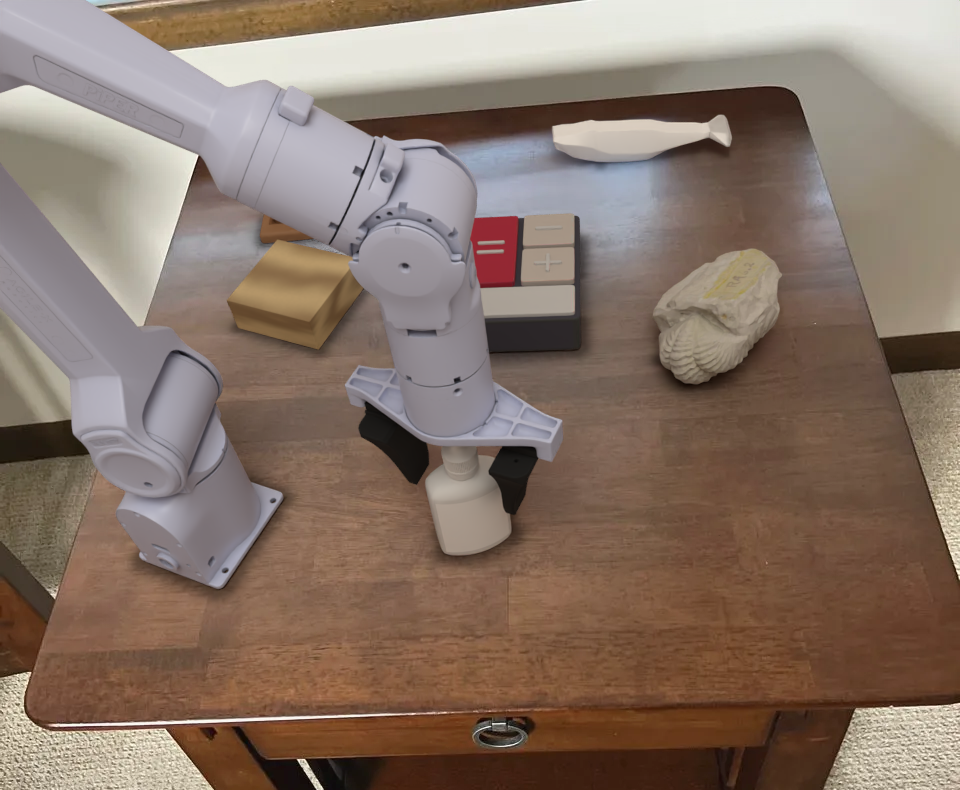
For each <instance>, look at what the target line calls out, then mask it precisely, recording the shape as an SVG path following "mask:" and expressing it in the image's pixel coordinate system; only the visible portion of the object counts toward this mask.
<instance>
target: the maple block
mask: <svg viewBox="0 0 960 790" xmlns="http://www.w3.org/2000/svg"><path fill="white" fill-rule="evenodd" d="M349 261H353V259H352V257H350V256H348V255H346V254H343V253H342V254H341V253H337V252H333V251H328V250H325V249H320V248H316V247H312V246H307V245H302V244H298V243H294V242H291V241H282V240H276V242H273V244H272V245H271V246H270V247H269V249H268V250H267V251H266V252H265V253H264V254H263V256H262V257H261V258H260V260H259V261H258V262H257V263H256V264H255V265H254V267H253V268H252V269H251V270H250V271H249V272H248V274H247V275H246V276H245V277H244V278H243V279H242V281H241V282H240V283H239V285H238V286H237V287H236V288H235V289H234V290H233V292H232V293H231V294H230V295H229V297H228V298H226V303H227V305H228V308H229V310H230V312H231V314H232V318H233V320H234V322H235V324H236V326H237V328H238V329H241V330H245V331H248V332H251V333H254V334H258V335H263V336H266V337H270V338H273V339H277V340H280V341H281V340H282V341H285V342H288V343H292V344H296V345H299V346H304V347H307V348H310V349H315V350H318V351H319V350H320V349H321V348H322V346H323V345H324V343H325V342H326V341H327V340H328V338H329V336H330V335H331V334H332V333H333V331H334V329H335V328H336V327H337V326H338V324H339V323H340V321H341V320H342V319H343V317H344V316H345V315H346V313H347V312H348V311H349V309H350V308H351V307H352V306H353V304H354V303H355V301H356V300H357V298H358V297H359V296H360V295H361V293H362V291H363V290H365V289H364V288H363V287H362V286H361V285H360V284H359V283H358V281H357V280H356V279H355V277H354V276H353V274H352V272H351V270H350V268H349V265H348V262H349Z"/></svg>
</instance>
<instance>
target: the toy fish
mask: <svg viewBox="0 0 960 790" xmlns="http://www.w3.org/2000/svg"><path fill="white" fill-rule="evenodd" d="M551 133H552V143H553V145H554V148H555V150H557V151H559V152H562V153H565V154H567V155H568V156H570V157H572V158H573V159H574V158H575V159H579V160H584V161H591V162H596V163H627V162H628V163H629V162H630V163H631V162H638V161H647V160H651V159H652V158H654V157H656V156H658V155H660V154H662V153H664V152H666V151H668V150H671V149H674V148H678V147H680V146H683V145H687V144H691V143H695V142H698V141H701V140H704V139H711V140H713V141H715V142H717V143H719V144H720V145H722V146H724V147H726V148H728V147H731V144H732V141H733V136H732V135H733V134H732V132H731V129H730V124H729V121H728V118H727V117H726V115H725V114H717V115H716V116H715V117H713V118H712V119H710V120H709V121H708V122H707V121H706V122H702V123H701V122H695V121H694V122H693V121H692V122H690V121H689V122H687V121H685V122H684V121H683V122H681V121H680V122H679V121H678V122H677V121H676V122H675V121H673V122H672V121H663V120H662V121H661V120H656V119H651V118H649V119H647V118H645V119H623V120H593V119H588V120H584V121H579V122H574V123H561V124H557V125H552V126H551Z"/></svg>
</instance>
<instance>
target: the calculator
mask: <svg viewBox="0 0 960 790" xmlns="http://www.w3.org/2000/svg"><path fill="white" fill-rule="evenodd" d="M470 240H471V242H472V246H473V253H474V260H475V266H476V271H477V278H478V281H479V284H480V289H481V297H482V305H483V312H484V320H485V327H486V335H487V342H488V350H489V353H495V352H496V353H497V352H499V353H500V352H531V351H533V352H536V351H564V350H566V351H567V350H568V351H569V350H579V349H580V348H581V346H582V345H581V344H582V322H581V321H582V318H581V317H582V316H581V315H582V314H581V313H582V312H581V311H582V310H581V309H582V308H581V307H582V305H581V304H582V303H581V301H582V299H581V297H582V296H581V218H580V217H579V215H575V214H574V213H573V212H572V213H571V212H569V213H549V214H529V215H528V214H527V215H525V216H524V217H519V216H517V215H505V216H484V217H482V216H481V217H475V219H474V223H473V228H472V232H471V237H470Z"/></svg>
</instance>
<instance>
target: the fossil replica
mask: <svg viewBox="0 0 960 790" xmlns="http://www.w3.org/2000/svg"><path fill="white" fill-rule="evenodd" d="M782 276H783V273H782V272H781V271H780V269H779V267H778V265H777V263H776V261H775V260H774V259H772V258H771V257H769V256H768V255H767V254H766V253H765V252H764V251H762V250H759V249H757V248H747V249H743V250H734V251H730V252H724V253H723V254H721V255H718V256H717V257H716V259H715V260H714V261H711V262H705V263H703V264H702V265H701V266H699V267H697V268H696V269H695V270H692V271H691V272H690V273H689V274H688V275H687V276H686V277H684V278H683V279H682V280H680V281H679V282H677V283H675V284H674V285H673V286H672V287H670V288H669V289H667V290H666V292H664V293H663V294H662V295H661V297H660V299H659V300H658V301H657V303H656V306H655V307H654V309H653V314H652V319H653V320H654V321H655V323H656V326H657V328H658V330H659V331H660V333H659V335H658V345H659V361H660V363H661V365H662V366H663V367H664V369H667V370H669V371H671V373H673V376H674V377H675V379H677V380H679V381H680V382H682V383H684V384H692V385H699V384H701V383H704V382H709V381H710V379H711V378H712V377H716V376H717V375H718V374H720V373H727V372H728V371H730V370H733V369H735V368H736V367H737V366H738V365H740V364H742V362H743V360H744V358H746V357H748V355H749V354H748V352H749V351H751V350H752V349H753V348H754V344H757V343H758V342H759V340H760V339H762V338H764V337H765V335H766V334H768V332H769V331H770V330H771V329H772V328H773V327H775V325H776V323H777V321H778V318H779V314H780V310H781V308H780V303H779V302H778V300H779V299H778V285H779V281H780V279H781V277H782Z"/></svg>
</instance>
